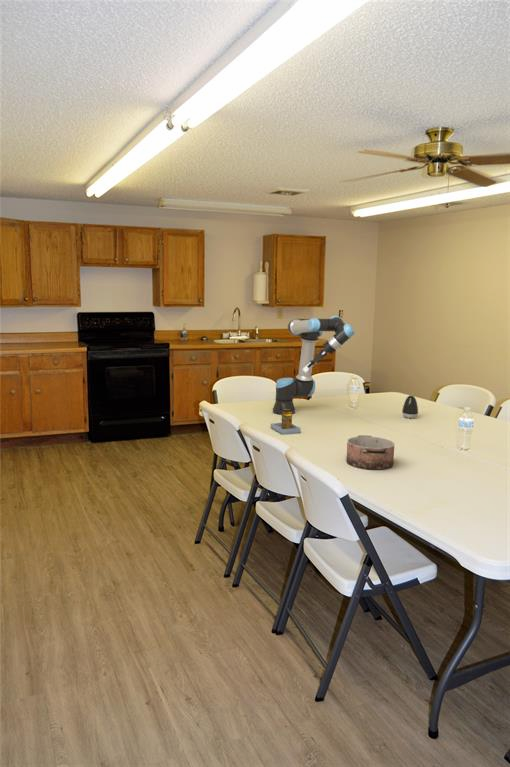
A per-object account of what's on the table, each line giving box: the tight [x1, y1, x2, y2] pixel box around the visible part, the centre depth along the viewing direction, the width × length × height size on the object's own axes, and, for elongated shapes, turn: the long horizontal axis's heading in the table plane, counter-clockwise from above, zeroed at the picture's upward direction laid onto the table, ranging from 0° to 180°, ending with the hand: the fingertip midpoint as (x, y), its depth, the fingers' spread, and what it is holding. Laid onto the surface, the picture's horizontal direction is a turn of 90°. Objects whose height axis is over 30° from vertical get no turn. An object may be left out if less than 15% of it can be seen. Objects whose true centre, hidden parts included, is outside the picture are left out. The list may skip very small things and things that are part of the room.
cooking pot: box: [345, 435, 395, 471], centre depth 280 cm, size 30×22×11 cm
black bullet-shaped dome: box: [401, 395, 419, 419], centre depth 386 cm, size 10×10×15 cm
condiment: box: [281, 409, 293, 429], centre depth 340 cm, size 7×8×12 cm
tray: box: [270, 422, 302, 436], centre depth 342 cm, size 12×16×3 cm
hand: (305, 369), depth 346 cm, fingers open, 13 cm apart
